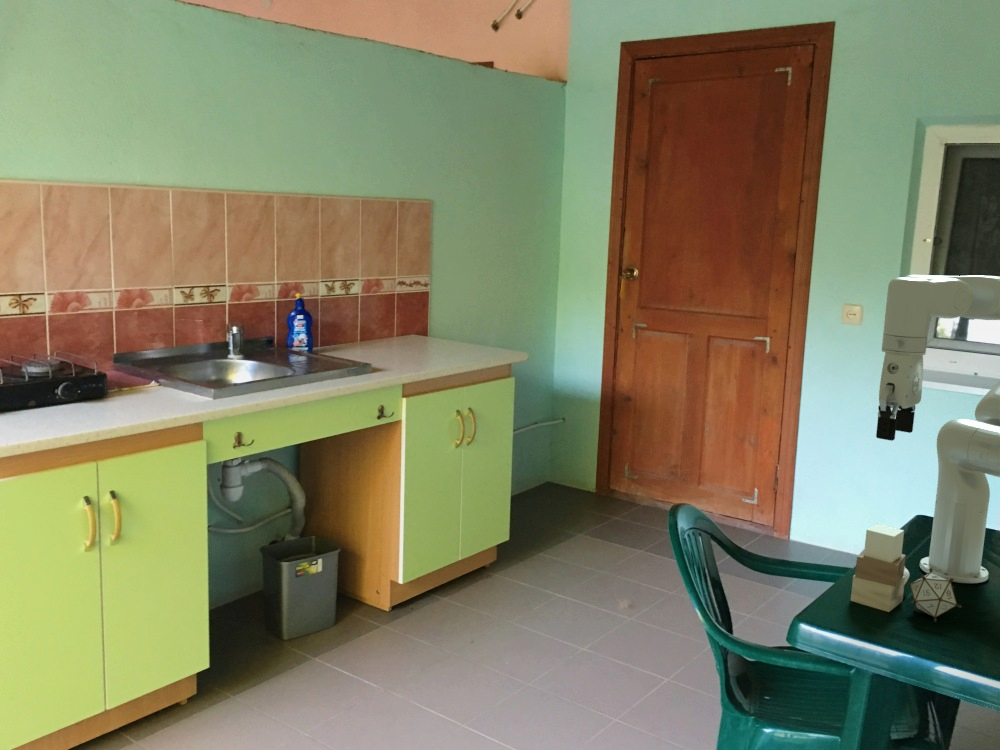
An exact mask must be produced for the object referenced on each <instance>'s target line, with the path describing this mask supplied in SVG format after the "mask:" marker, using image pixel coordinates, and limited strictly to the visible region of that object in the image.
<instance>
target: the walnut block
mask: <svg viewBox="0 0 1000 750" xmlns="http://www.w3.org/2000/svg"><path fill="white" fill-rule="evenodd" d="M906 558H907V557H906V554H903V553H902V554H901V557H900V558H898V559H897V560H895V561H894V562H892V563H889V562H886V561H882V560H878V559H874V558H871V557H867V556H864V549H863V550H861V552H860V553H859V554H858V555H857V557H856V563H855V571H854V572H855V573H854V575H855V577H856V578H860V579H864V580H869V581H873V582H877V583H881V584H886V585H890V586H894V587H895V586H896V585H897V583H898V582H899V581H900V579H901V578H902V577H903V575H904V566H905V567H906V565H905V563H906Z"/></svg>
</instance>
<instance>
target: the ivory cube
mask: <svg viewBox="0 0 1000 750" xmlns="http://www.w3.org/2000/svg"><path fill="white" fill-rule="evenodd" d="M865 532H866V533H865V541H864V548H863V550H864V556H867V557H871V558H874V559H878V560H882V561H886V562H889V563H892V562H894V561H895V560H897V559H898V558H900V557H901V554H903V544H904V535H905V534H904V533H905V530H904V529H899V528H895V527H891V526H887V525H883V524H881V523H880V524H879V523H876V524H874V525H873V526H870V527H869V528H867V529H866V530H865Z"/></svg>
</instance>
